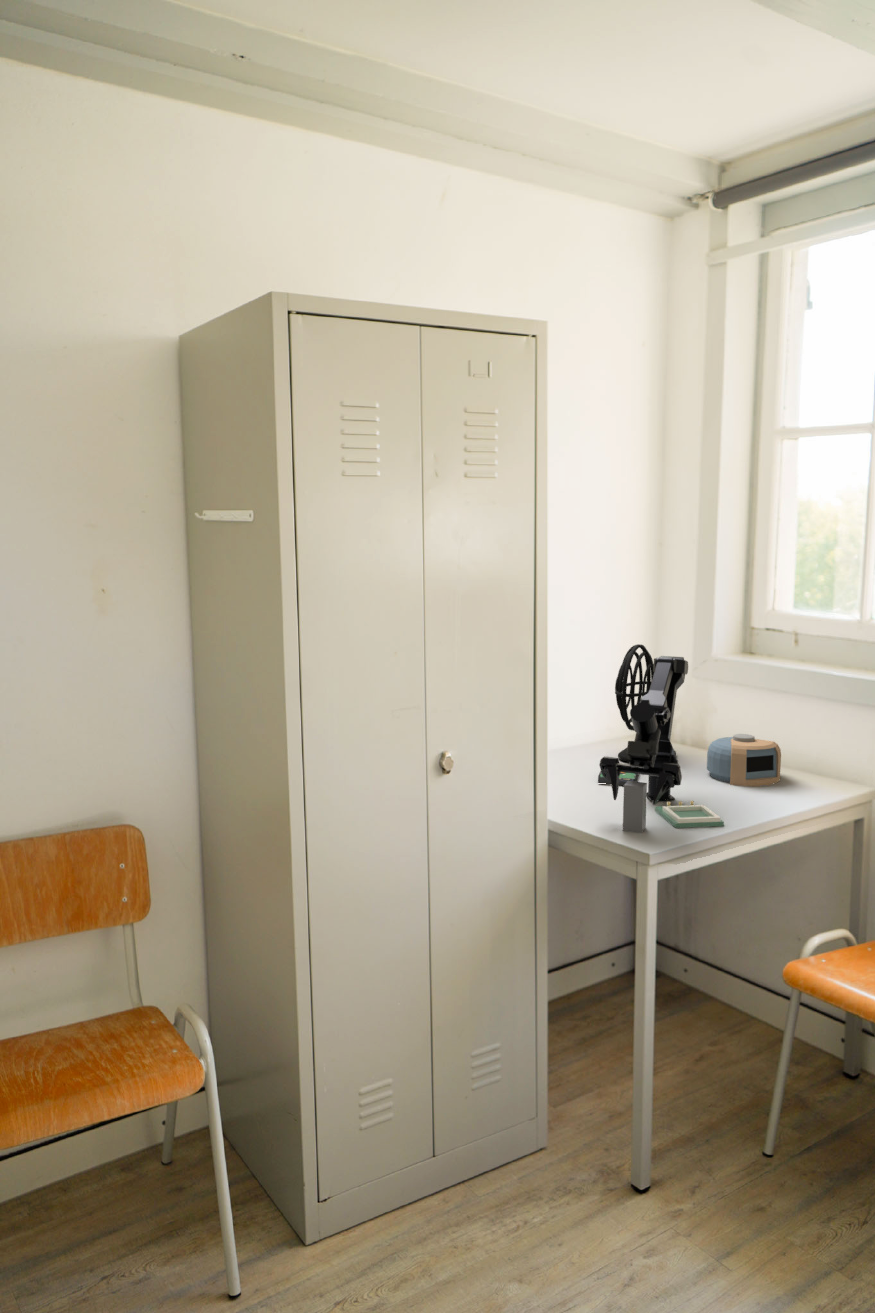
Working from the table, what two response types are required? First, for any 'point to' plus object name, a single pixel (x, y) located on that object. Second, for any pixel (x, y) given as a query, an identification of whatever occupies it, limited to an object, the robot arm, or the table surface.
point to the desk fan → (632, 685)
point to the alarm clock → (744, 760)
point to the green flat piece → (689, 815)
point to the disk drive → (623, 778)
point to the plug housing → (634, 806)
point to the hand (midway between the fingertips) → (633, 801)
